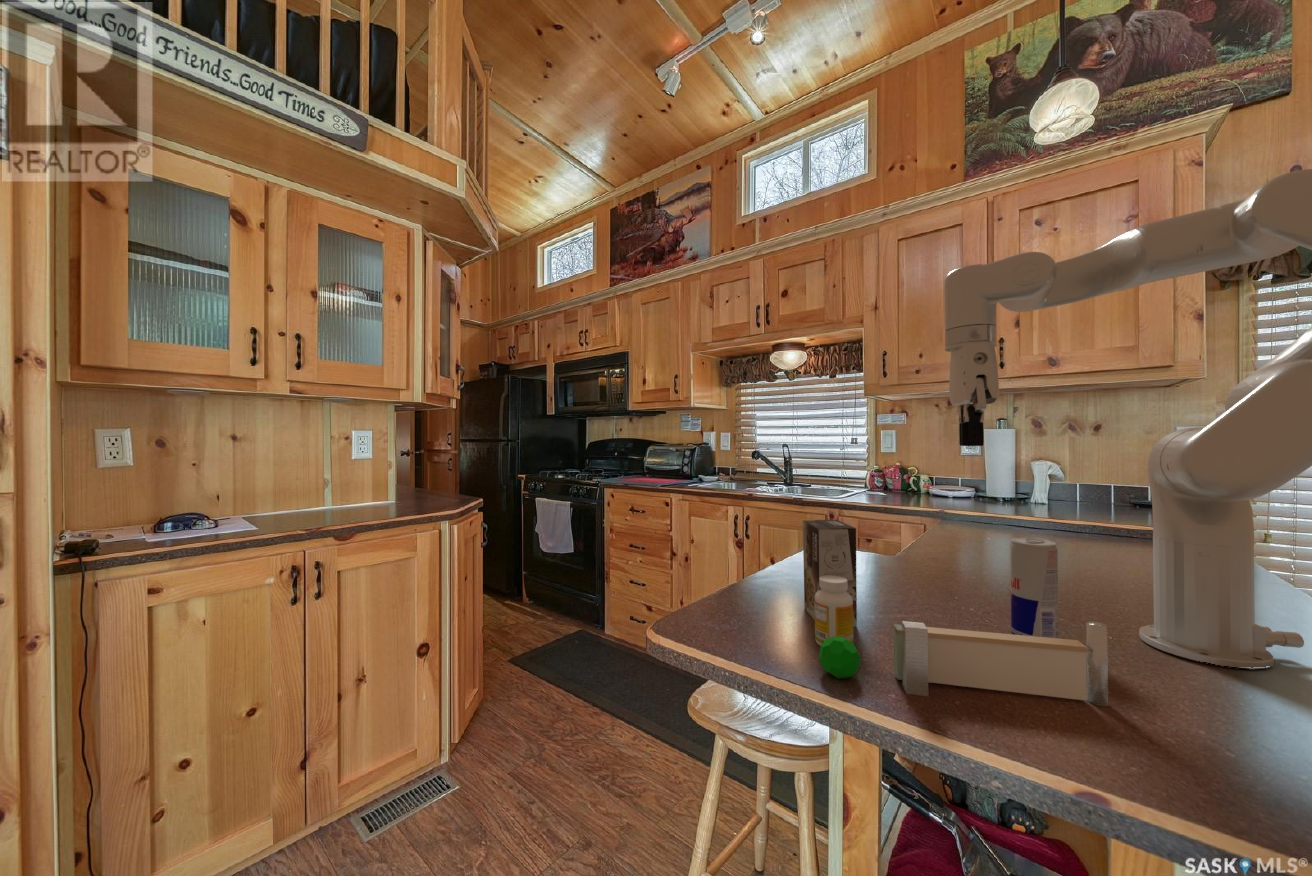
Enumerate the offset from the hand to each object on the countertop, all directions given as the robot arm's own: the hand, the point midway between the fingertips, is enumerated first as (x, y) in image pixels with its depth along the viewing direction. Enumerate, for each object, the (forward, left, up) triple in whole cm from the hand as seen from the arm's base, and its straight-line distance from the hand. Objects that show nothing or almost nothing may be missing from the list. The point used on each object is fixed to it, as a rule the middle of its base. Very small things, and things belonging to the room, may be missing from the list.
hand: (971, 445), depth 84 cm
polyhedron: (+24, +29, -29) cm, 48 cm away
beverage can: (-5, +10, -29) cm, 31 cm away
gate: (+7, +28, -29) cm, 41 cm away
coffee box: (+24, +8, -29) cm, 39 cm away
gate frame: (+6, +29, -29) cm, 42 cm away
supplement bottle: (+24, +19, -29) cm, 42 cm away
